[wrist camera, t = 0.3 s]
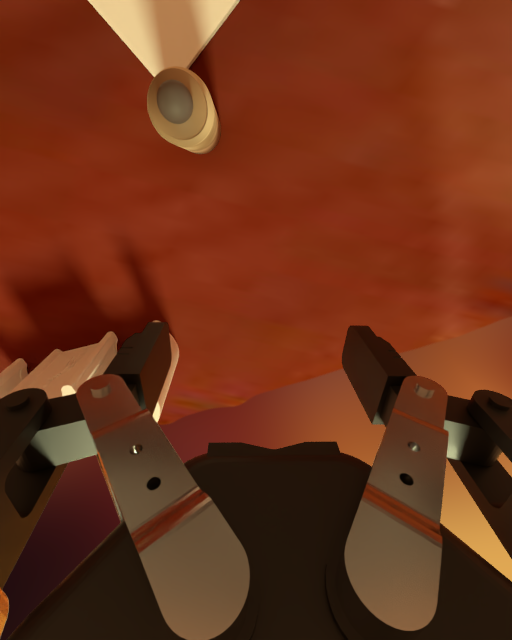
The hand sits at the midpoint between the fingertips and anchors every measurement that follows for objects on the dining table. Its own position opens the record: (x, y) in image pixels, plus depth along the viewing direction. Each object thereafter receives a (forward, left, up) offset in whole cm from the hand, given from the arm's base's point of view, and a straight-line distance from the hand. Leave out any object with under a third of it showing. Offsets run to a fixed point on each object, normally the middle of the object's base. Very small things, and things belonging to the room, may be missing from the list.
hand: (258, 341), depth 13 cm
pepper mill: (-4, -11, -26) cm, 29 cm away
